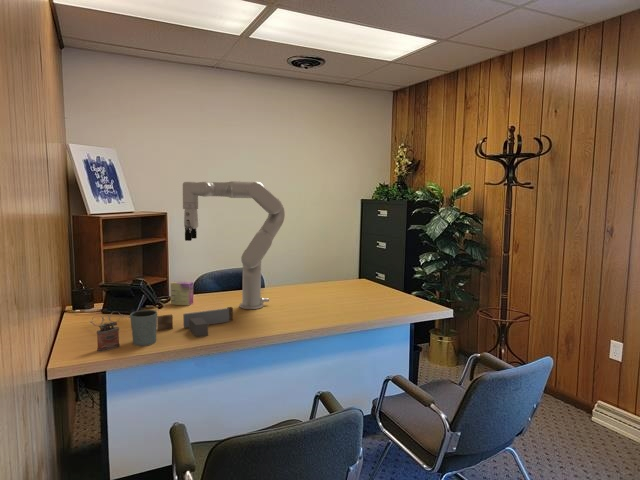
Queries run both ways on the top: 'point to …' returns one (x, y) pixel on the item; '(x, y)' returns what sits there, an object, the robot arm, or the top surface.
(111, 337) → the lighter
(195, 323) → the dark boxy piece
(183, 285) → the box
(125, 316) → the eyeglasses
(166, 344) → the top surface
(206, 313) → the blue-grey long block
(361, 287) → the top surface
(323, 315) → the top surface
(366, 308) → the top surface
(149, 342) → the grey-green cup
